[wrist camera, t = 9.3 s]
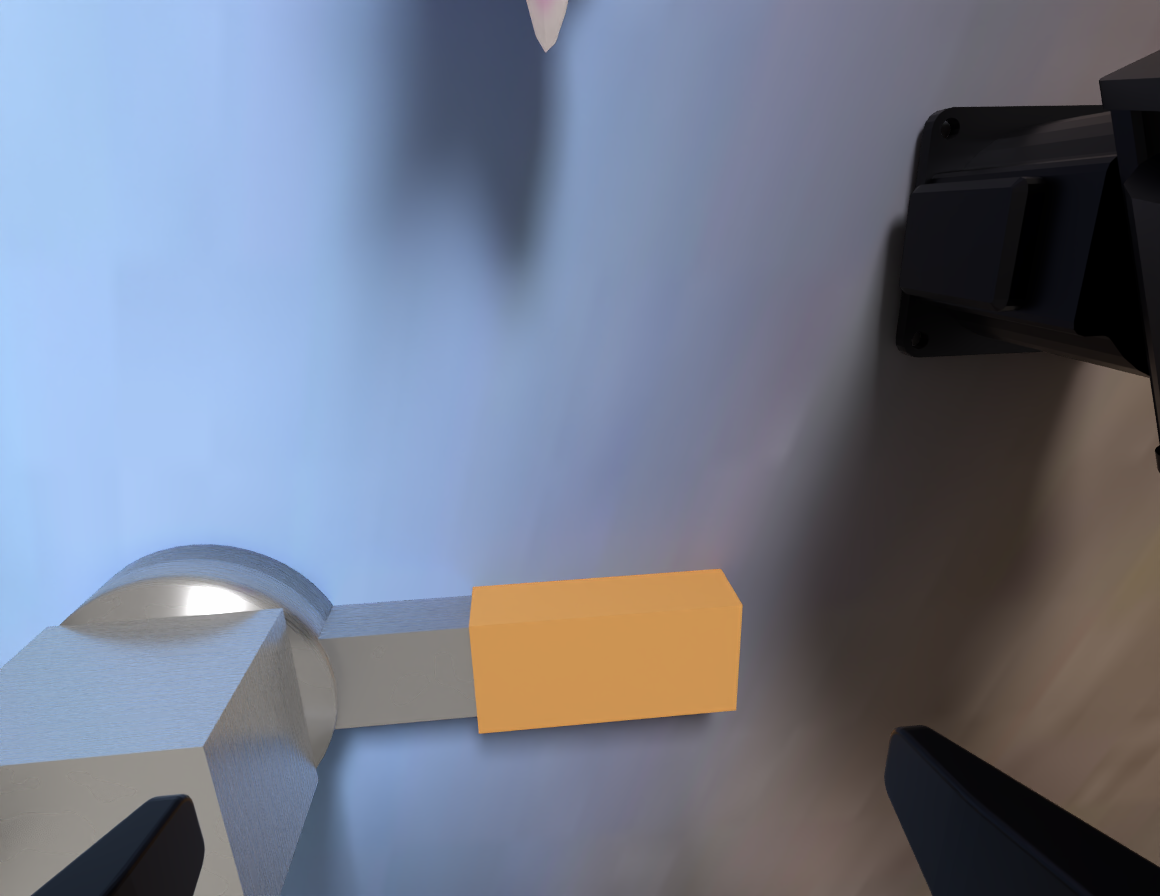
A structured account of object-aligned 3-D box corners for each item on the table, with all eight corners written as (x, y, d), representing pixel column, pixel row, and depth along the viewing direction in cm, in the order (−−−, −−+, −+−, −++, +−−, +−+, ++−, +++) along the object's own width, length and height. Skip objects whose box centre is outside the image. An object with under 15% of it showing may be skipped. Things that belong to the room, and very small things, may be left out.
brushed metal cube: (282, 607, 18) (202, 746, 13) (318, 780, 20) (260, 953, 15) (46, 626, 18) (-122, 777, 13) (107, 801, 20) (-19, 987, 15)
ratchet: (723, 509, 21) (790, 602, 16) (713, 715, 24) (768, 850, 19) (51, 553, 19) (-112, 673, 14) (120, 769, 22) (3, 935, 17)
